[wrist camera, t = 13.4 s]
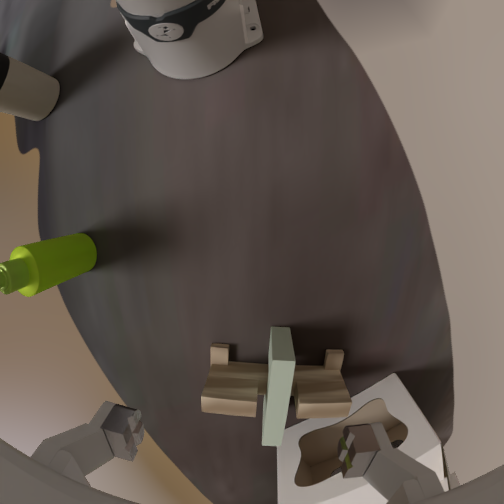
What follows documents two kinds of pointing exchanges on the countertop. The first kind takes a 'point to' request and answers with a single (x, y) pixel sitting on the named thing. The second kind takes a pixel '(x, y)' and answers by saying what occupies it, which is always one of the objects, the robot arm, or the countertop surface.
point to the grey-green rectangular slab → (278, 385)
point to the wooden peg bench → (255, 382)
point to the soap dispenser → (47, 264)
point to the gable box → (331, 430)
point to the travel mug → (26, 90)
